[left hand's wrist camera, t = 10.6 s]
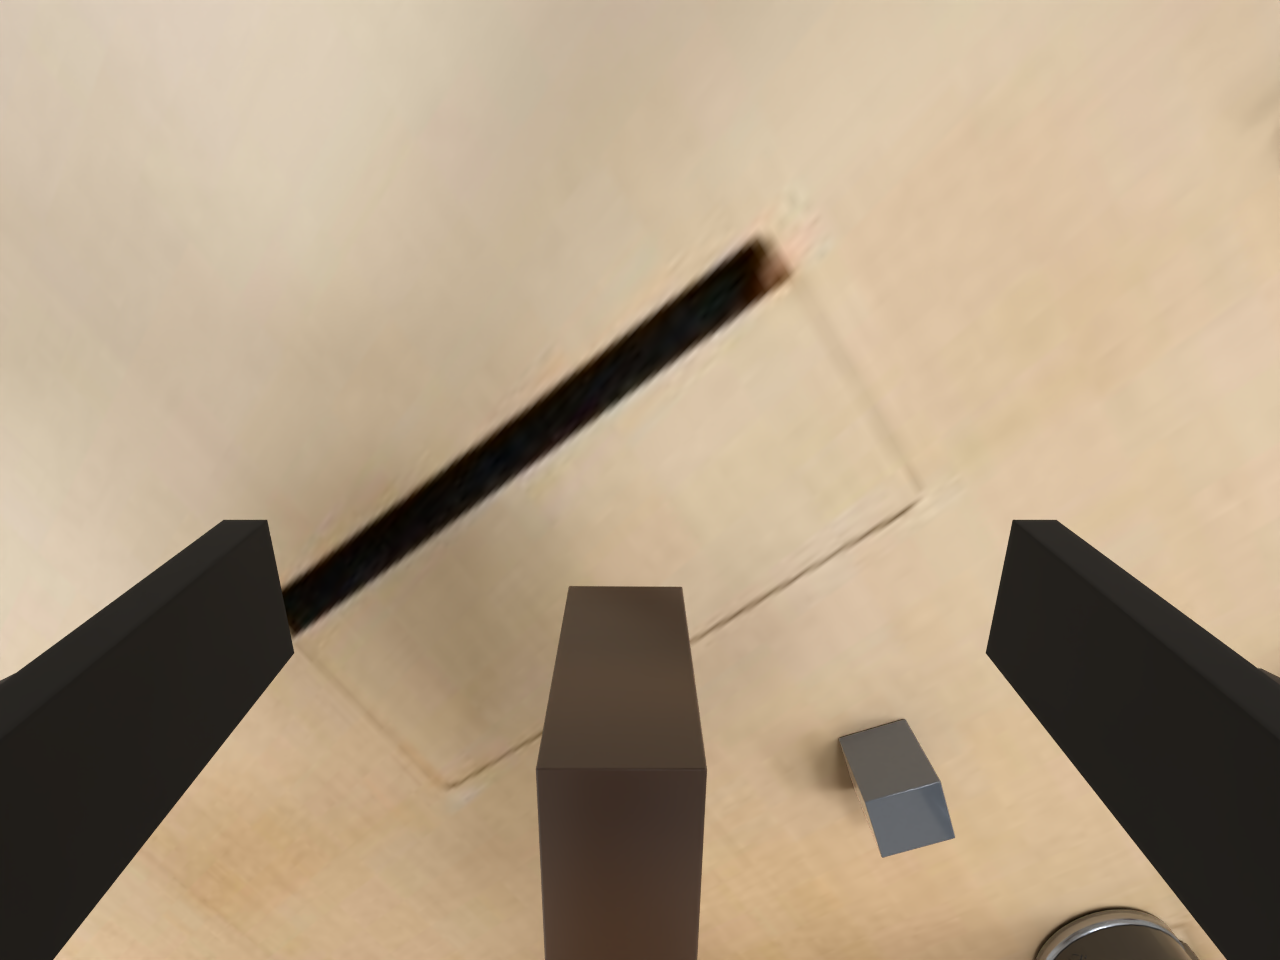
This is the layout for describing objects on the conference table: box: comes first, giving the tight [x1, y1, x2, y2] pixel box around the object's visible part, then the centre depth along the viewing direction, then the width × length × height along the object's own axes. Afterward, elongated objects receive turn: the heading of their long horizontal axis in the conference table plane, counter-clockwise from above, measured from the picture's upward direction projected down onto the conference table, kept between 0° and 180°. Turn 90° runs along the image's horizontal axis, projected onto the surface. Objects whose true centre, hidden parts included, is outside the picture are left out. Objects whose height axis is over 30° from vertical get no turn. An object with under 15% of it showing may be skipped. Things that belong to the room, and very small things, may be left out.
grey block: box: [839, 719, 955, 857], centre depth 39 cm, size 4×4×5 cm
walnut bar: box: [536, 586, 707, 960], centre depth 25 cm, size 24×4×9 cm, turn 0°
